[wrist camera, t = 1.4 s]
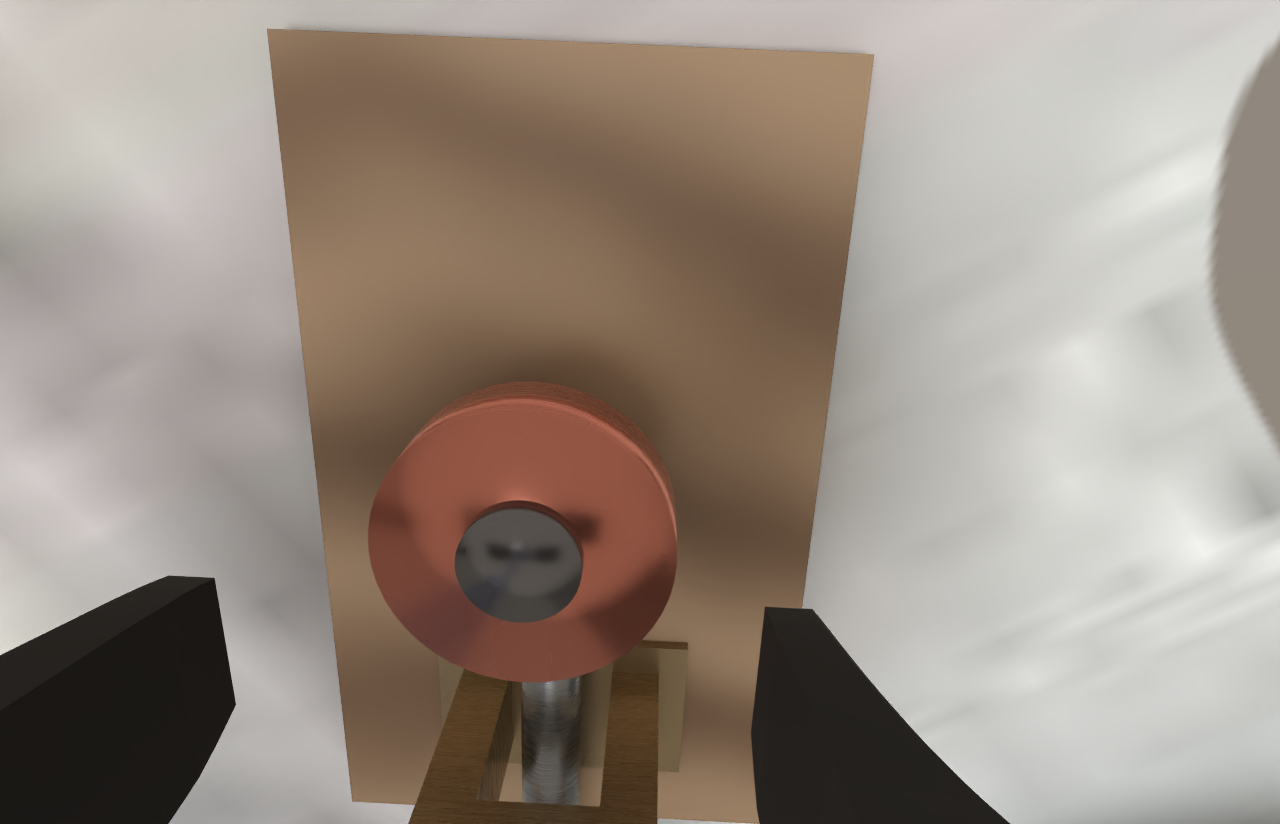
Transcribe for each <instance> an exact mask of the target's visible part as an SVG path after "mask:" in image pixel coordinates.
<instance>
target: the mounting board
mask: <svg viewBox="0 0 1280 824" xmlns="http://www.w3.org/2000/svg"><path fill="white" fill-rule="evenodd" d="M267 33H268V43H269V52H270V61H271V70H272V79H273V88H274V97H275V106H276V115H277V124H278V133H279V142H280V151H281V160H282V169H283V178H284V187H285V196H286V205H287V214H288V224H289V233H290V242H291V251H292V260H293V269H294V278H295V287H296V296H297V305H298V314H299V323H300V332H301V341H302V350H303V359H304V368H305V377H306V386H307V395H308V404H309V414H310V423H311V432H312V441H313V450H314V459H315V468H316V477H317V486H318V495H319V504H320V513H321V522H322V531H323V540H324V549H325V558H326V567H327V576H328V585H329V595H330V604H331V613H332V622H333V631H334V640H335V649H336V658H337V667H338V676H339V685H340V694H341V703H342V712H343V721H344V730H345V739H346V748H347V757H348V766H349V776H350V785H351V794H352V801H354V802H372V803H390V804H409V805H415V804H416V801H417V799H418V796H419V793H420V790H421V787H422V785H423V782H424V779H425V776H426V774H427V771H428V768H429V765H430V762H431V760H432V757H433V754H434V751H435V748H436V746H437V743H438V740H439V737H440V734H441V732H442V729H443V728H442V711H441V693H440V675H439V658H438V655H437V654H435V653H434V652H433V651H431V650H430V649H429V648H427V647H426V646H425V645H423V644H422V643H421V642H419V641H418V640H417V639H416V638H415V637H414V636H413V635H412V634H411V633H410V632H409V631H408V630H407V629H406V628H405V627H404V626H403V625H402V624H401V622H400V621H399V620H398V619H397V617H396V616H395V615H394V614H393V612H392V611H391V609H390V607H389V606H388V604H387V603H386V601H385V600H384V598H383V596H382V593H381V591H380V589H379V587H378V585H377V583H376V580H375V576H374V573H373V570H372V567H371V562H370V556H369V549H368V527H369V519H370V512H371V509H372V506H373V502H374V499H375V496H376V493H377V491H378V489H379V487H380V485H381V483H382V481H383V479H384V477H385V476H386V474H387V473H388V471H389V470H390V469H391V467H392V466H393V464H394V463H395V461H396V460H397V459H398V458H399V456H400V455H401V454H402V452H403V451H404V450H405V448H406V447H407V446H408V444H409V443H410V442H411V440H412V439H413V438H414V437H415V435H416V434H417V433H418V431H419V430H420V429H421V428H422V427H423V426H424V425H425V424H426V422H427V421H428V420H429V419H430V418H431V417H432V416H434V415H435V414H436V413H437V412H438V411H440V410H441V409H442V408H443V407H445V406H446V405H448V404H450V403H451V402H453V401H455V400H456V399H458V398H460V397H461V396H464V395H466V394H469V393H471V392H473V391H476V390H478V389H482V388H485V387H489V386H492V385H496V384H503V383H510V382H543V383H552V384H557V385H562V386H566V387H570V388H574V389H577V390H579V391H582V392H585V393H587V394H590V395H592V396H594V397H596V398H598V399H600V400H602V401H604V402H606V403H608V404H610V405H611V406H612V407H614V408H615V409H617V410H618V411H620V412H621V413H623V414H624V415H625V416H626V417H628V418H629V419H630V420H631V421H632V422H633V423H634V424H635V425H636V426H638V427H639V428H640V430H641V431H642V432H643V433H644V434H645V435H646V437H647V438H648V439H649V440H650V441H651V443H652V444H653V446H654V447H655V449H656V450H657V452H658V453H659V455H660V456H661V459H662V461H663V463H664V465H665V467H666V469H667V471H668V474H669V477H670V480H671V484H672V487H673V491H674V498H675V504H676V534H677V567H676V574H675V581H674V585H673V588H672V591H671V595H670V598H669V600H668V602H667V604H666V606H665V608H664V611H663V613H662V614H661V616H660V617H659V619H658V620H657V622H656V624H655V625H654V627H653V628H652V629H651V630H650V631H649V633H648V634H647V635H646V636H645V637H644V638H643V639H642V640H646V641H665V642H684V643H688V657H687V670H686V684H685V697H684V711H683V724H682V738H681V751H680V765H679V772H662V771H658V804H657V818H663V819H682V820H700V821H718V822H736V823H754V824H760V823H759V818H758V813H757V806H756V794H755V782H754V770H753V756H752V742H751V726H752V717H753V709H754V700H755V691H756V682H757V673H758V664H759V655H760V646H761V637H762V628H763V619H764V610H765V607H781V608H800V609H802V603H803V595H804V587H805V580H806V572H807V564H808V557H809V549H810V541H811V534H812V526H813V519H814V511H815V503H816V496H817V488H818V480H819V473H820V465H821V457H822V450H823V442H824V434H825V427H826V419H827V412H828V404H829V396H830V389H831V381H832V373H833V366H834V358H835V350H836V343H837V335H838V328H839V320H840V312H841V305H842V297H843V289H844V282H845V274H846V266H847V259H848V251H849V243H850V236H851V228H852V221H853V213H854V205H855V198H856V190H857V182H858V175H859V167H860V159H861V152H862V144H863V136H864V129H865V121H866V114H867V106H868V98H869V91H870V83H871V75H872V68H873V60H874V55H872V54H848V53H825V52H801V51H778V50H754V49H731V48H707V47H684V46H660V45H637V44H613V43H590V42H566V41H543V40H519V39H496V38H472V37H449V36H425V35H402V34H378V33H355V32H331V31H308V30H284V29H267ZM602 778H603V768H588V767H581V777H580V806H599V807H600V800H601V789H602ZM499 801H507V802H522V764H515V763H508V764H507V769H506V773H505V777H504V781H503V785H502V789H501V794H500V798H499Z"/></svg>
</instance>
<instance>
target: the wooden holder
mask: <svg viewBox="0 0 1280 824" xmlns="http://www.w3.org/2000/svg"><path fill="white" fill-rule="evenodd" d="M687 657H688V643H684V642H665V641H646V640H641V641H640V642H639V643H638V644H637V645H636V646H635V647H633V648H632V649H631V650H630V651H629V652H628V653H626V654H625V655H623V656H622V657H620V658H618V659H617V660H615V661H614V662H612V663H610V664H608V665H606V666H604V667H602V668H600V669H598V670H596V671H593V672H590V673H587V674H584V675H582V725H581V767H588V768H603V778H602V789H601V800H600V807H599V806H580V805H562V804H544V803H526V802H507V801H499V798H500V794H501V789H502V785H503V781H504V777H505V773H506V769H507V764H508V763H515V764H522V747H521V682H516V681H506V680H501V679H496V678H492V677H487V676H484V675H481V674H478V673H475V672H472V671H469V670H466V669H464V668H462V667H460V666H457V665H455V664H453V663H451V662H449V661H447V660H446V659H444V658H442V657H441V656H439V655H438V658H439V675H440V693H441V711H442V728H443V729H442V732H441V734H440V737H439V740H438V743H437V746H436V748H435V751H434V754H433V757H432V760H431V762H430V765H429V768H428V771H427V774H426V776H425V779H424V782H423V785H422V787H421V790H420V793H419V796H418V799H417V801H416V804H415V807H414V810H413V813H412V815H411V818H410V821H409V824H657V804H658V771H662V772H679V765H680V751H681V738H682V724H683V711H684V697H685V684H686V670H687Z"/></svg>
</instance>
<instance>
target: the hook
mask: <svg viewBox="0 0 1280 824" xmlns="http://www.w3.org/2000/svg"><path fill="white" fill-rule="evenodd" d="M368 549H369V556H370V562H371V567H372V570H373V573H374V576H375V580H376V583H377V585H378V587H379V589H380V591H381V593H382V596H383V598H384V600H385V601H386V603H387V604H388V606H389V607H390V609H391V611H392V612H393V614H394V615H395V616H396V617H397V619H398V620H399V621H400V622H401V624H402V625H403V626H404V627H405V628H406V629H407V630H408V631H409V632H410V633H411V634H412V635H413V636H414V637H415V638H416V639H417V640H418V641H419V642H421V643H422V644H423V645H425V646H426V647H427V648H429V649H430V650H431V651H433V652H434V653H435V654H437V655H439V656H441V657H442V658H444V659H446V660H447V661H449V662H451V663H453V664H455V665H457V666H460V667H462V668H464V669H466V670H469V671H472V672H475V673H478V674H481V675H484V676H487V677H492V678H496V679H501V680H506V681H516V682H521V747H522V802H526V803H544V804H562V805H580V777H581V725H582V675H584V674H587V673H590V672H593V671H596V670H598V669H600V668H602V667H604V666H606V665H608V664H610V663H612V662H614V661H615V660H617V659H618V658H620V657H622V656H623V655H625V654H626V653H628V652H629V651H630V650H631V649H632V648H633V647H635V646H636V645H637V644H638V643H639V642H640V641H641V640H642V639H643V638H644V637H645V636H646V635H647V634H648V633H649V631H650V630H651V629H652V628H653V627H654V625H655V624H656V622H657V620H658V619H659V617H660V616H661V614H662V613H663V611H664V608H665V606H666V604H667V602H668V600H669V598H670V595H671V591H672V588H673V585H674V581H675V574H676V567H677V534H676V504H675V498H674V491H673V487H672V484H671V480H670V477H669V474H668V471H667V469H666V467H665V465H664V463H663V461H662V459H661V456H660V455H659V453H658V452H657V450H656V449H655V447H654V446H653V444H652V443H651V441H650V440H649V439H648V438H647V437H646V435H645V434H644V433H643V432H642V431H641V430H640V428H639V427H638V426H636V425H635V424H634V423H633V422H632V421H631V420H630V419H629V418H628V417H626V416H625V415H624V414H623V413H621V412H620V411H618V410H617V409H615V408H614V407H612V406H611V405H610V404H608V403H606V402H604V401H602V400H600V399H598V398H596V397H594V396H592V395H590V394H587V393H585V392H582V391H579V390H577V389H574V388H570V387H566V386H562V385H557V384H552V383H543V382H510V383H503V384H496V385H492V386H489V387H485V388H482V389H478V390H476V391H473V392H471V393H469V394H466V395H464V396H461V397H460V398H458V399H456V400H455V401H453V402H451V403H450V404H448V405H446V406H445V407H443V408H442V409H441V410H440V411H438V412H437V413H436V414H435V415H434V416H432V417H431V418H430V419H429V420H428V421H427V422H426V424H425V425H424V426H423V427H422V428H421V429H420V430H419V431H418V433H417V434H416V435H415V437H414V438H413V439H412V440H411V442H410V443H409V444H408V446H407V447H406V448H405V450H404V451H403V452H402V454H401V455H400V456H399V458H398V459H397V460H396V461H395V463H394V464H393V466H392V467H391V469H390V470H389V471H388V473H387V474H386V476H385V477H384V479H383V481H382V483H381V485H380V487H379V489H378V491H377V493H376V496H375V499H374V502H373V506H372V509H371V512H370V519H369V527H368Z"/></svg>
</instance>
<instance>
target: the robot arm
mask: <svg viewBox="0 0 1280 824" xmlns="http://www.w3.org/2000/svg"><path fill="white" fill-rule="evenodd" d="M235 706H236V702H235V697H234V691H233V685H232V679H231V673H230V667H229V661H228V655H227V649H226V643H225V637H224V631H223V626H222V620H221V614H220V608H219V602H218V596H217V590H216V584H215V578H204V577H185V576H167V577H164V578H161V579H159V580H156V581H154V582H151V583H149V584H147V585H144V586H142V587H140V588H137V589H135V590H133V591H131V592H129V593H126V594H124V595H122V596H120V597H118V598H116V599H114V600H112V601H110V602H108V603H105V604H103V605H101V606H99V607H97V608H95V609H93V610H91V611H89V612H87V613H85V614H83V615H81V616H79V617H77V618H75V619H73V620H71V621H69V622H67V623H65V624H63V625H61V626H59V627H57V628H55V629H53V630H51V631H49V632H47V633H45V634H43V635H41V636H39V637H36V638H34V639H32V640H30V641H28V642H26V643H24V644H22V645H20V646H18V647H16V648H14V649H12V650H10V651H8V652H6V653H4V654H2V655H0V824H168V823H169V822H170V820H171V819H172V817H173V816H174V814H175V813H176V812H177V810H178V809H179V807H180V806H181V804H182V803H183V801H184V800H185V798H186V797H187V795H188V794H189V792H190V791H191V789H192V787H193V786H194V784H195V783H196V781H197V780H198V778H199V777H200V775H201V773H202V771H203V769H204V767H205V765H206V763H207V762H208V760H209V758H210V756H211V754H212V752H213V750H214V748H215V747H216V745H217V743H218V741H219V738H220V736H221V734H222V732H223V730H224V728H225V726H226V724H227V722H228V720H229V718H230V716H231V714H232V712H233V710H234V708H235ZM751 742H752V756H753V770H754V782H755V794H756V806H757V813H758V818H759V823H760V824H1010V823H1009V822H1007V821H1006V820H1005V819H1004V818H1003V817H1002V816H1001V815H999V814H998V813H997V812H996V811H995V810H994V809H993V808H991V807H990V806H989V805H988V804H987V803H986V802H985V801H984V800H983V799H981V798H980V797H979V796H978V795H977V794H976V793H975V792H974V791H973V790H972V789H971V788H970V787H969V786H968V785H966V784H965V783H964V782H963V781H962V780H961V779H960V778H959V777H958V776H957V775H956V774H955V773H954V772H953V771H952V770H951V769H950V768H949V767H948V766H947V765H946V764H945V763H944V762H943V761H942V760H941V759H940V758H939V757H938V756H937V755H936V754H935V753H934V752H933V751H932V750H931V749H930V748H929V746H928V745H927V744H926V743H925V742H924V741H923V740H922V739H921V738H920V737H919V736H918V735H917V734H916V733H915V732H914V730H913V729H912V728H911V727H910V726H909V725H908V724H907V723H906V721H905V720H904V719H903V718H902V717H901V716H900V715H899V714H898V712H897V711H896V710H895V709H894V708H893V707H892V706H891V704H890V703H889V702H888V701H887V700H886V699H885V698H884V697H883V695H882V694H881V693H880V692H879V691H878V690H877V688H876V687H875V686H874V685H873V684H872V682H871V681H870V680H869V679H868V678H867V676H866V675H865V674H864V673H863V672H862V670H861V669H860V668H859V667H858V665H857V664H856V663H855V662H854V660H853V659H852V658H851V657H850V656H849V654H848V653H847V652H846V650H845V649H844V648H843V647H842V645H841V644H840V643H839V642H838V640H837V639H836V638H835V637H834V635H833V634H832V633H831V631H830V630H829V629H828V628H827V626H826V625H825V624H824V623H823V621H822V620H821V619H820V618H819V616H818V615H817V614H816V613H815V612H814V611H813V610H812V609H800V608H781V607H765V610H764V619H763V628H762V637H761V646H760V655H759V664H758V673H757V682H756V691H755V700H754V709H753V717H752V726H751Z"/></svg>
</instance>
